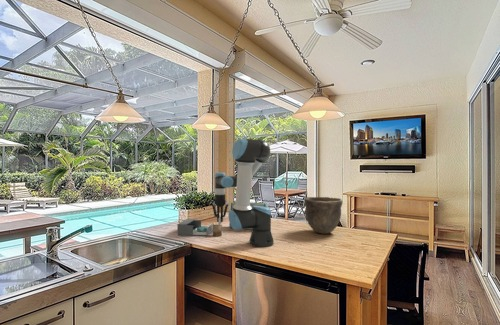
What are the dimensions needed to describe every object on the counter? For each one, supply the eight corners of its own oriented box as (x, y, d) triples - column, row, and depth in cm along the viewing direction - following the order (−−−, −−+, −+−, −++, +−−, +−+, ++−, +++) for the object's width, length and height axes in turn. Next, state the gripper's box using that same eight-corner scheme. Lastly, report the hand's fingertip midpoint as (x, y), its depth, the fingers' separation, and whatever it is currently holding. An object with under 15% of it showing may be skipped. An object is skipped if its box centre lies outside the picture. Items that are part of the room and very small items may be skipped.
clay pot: (309, 237, 184) (309, 200, 184) (301, 228, 210) (301, 196, 210) (348, 237, 185) (348, 200, 185) (335, 228, 210) (335, 196, 210)
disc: (206, 232, 193) (206, 228, 193) (195, 231, 194) (195, 228, 194) (209, 229, 201) (209, 226, 201) (198, 229, 202) (198, 225, 202)
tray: (207, 235, 188) (207, 228, 188) (190, 234, 190) (190, 228, 190) (213, 229, 205) (213, 223, 205) (198, 228, 207) (198, 222, 207)
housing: (195, 236, 188) (195, 224, 188) (177, 235, 190) (177, 224, 190) (203, 229, 207) (203, 219, 207) (187, 228, 209) (187, 218, 209)
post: (220, 236, 186) (220, 226, 186) (212, 236, 187) (212, 226, 187) (222, 234, 192) (222, 224, 192) (214, 234, 193) (214, 224, 193)
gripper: (230, 193, 201) (229, 225, 201) (212, 193, 202) (212, 225, 203) (227, 194, 193) (227, 228, 193) (209, 194, 195) (209, 227, 195)
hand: (219, 226), depth 198 cm, fingers closed
